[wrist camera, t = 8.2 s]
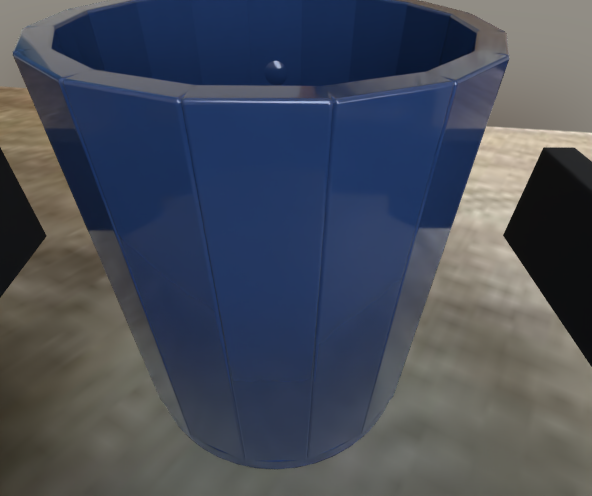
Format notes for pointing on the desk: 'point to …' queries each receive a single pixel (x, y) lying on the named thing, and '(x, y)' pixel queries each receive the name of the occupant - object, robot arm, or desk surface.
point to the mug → (267, 195)
